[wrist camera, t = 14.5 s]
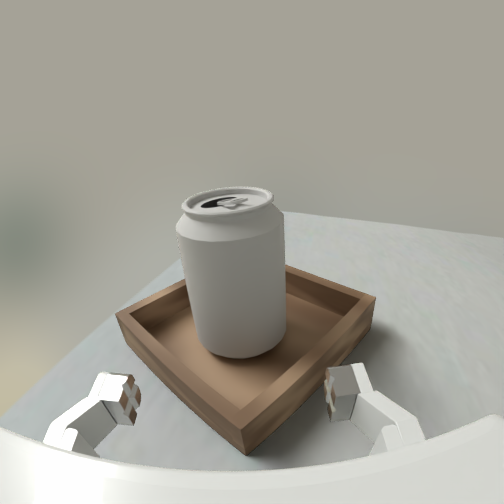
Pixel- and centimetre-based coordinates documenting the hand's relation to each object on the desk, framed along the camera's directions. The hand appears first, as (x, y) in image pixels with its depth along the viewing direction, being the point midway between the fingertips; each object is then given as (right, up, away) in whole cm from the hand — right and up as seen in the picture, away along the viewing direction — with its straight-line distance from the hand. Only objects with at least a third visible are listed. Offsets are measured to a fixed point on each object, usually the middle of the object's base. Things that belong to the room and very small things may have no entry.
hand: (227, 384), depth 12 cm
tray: (+1, -2, +15) cm, 15 cm away
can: (0, -2, +14) cm, 14 cm away
